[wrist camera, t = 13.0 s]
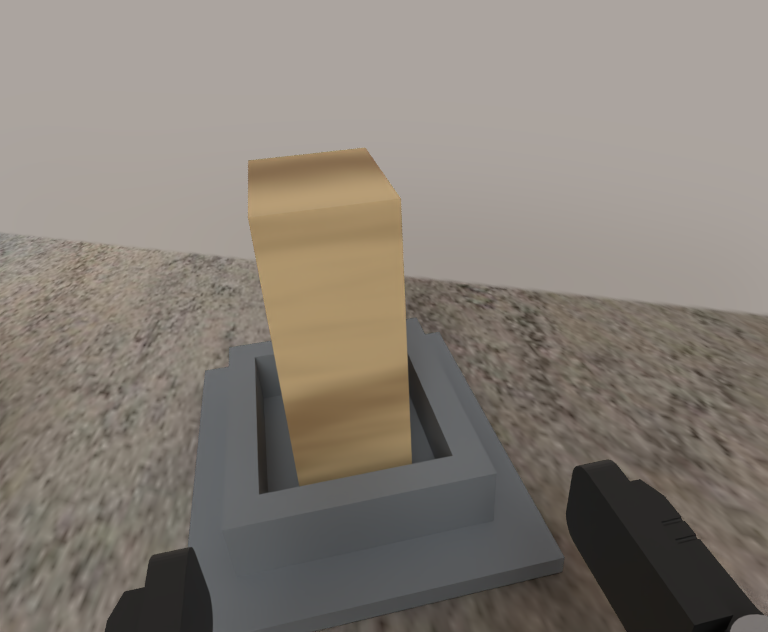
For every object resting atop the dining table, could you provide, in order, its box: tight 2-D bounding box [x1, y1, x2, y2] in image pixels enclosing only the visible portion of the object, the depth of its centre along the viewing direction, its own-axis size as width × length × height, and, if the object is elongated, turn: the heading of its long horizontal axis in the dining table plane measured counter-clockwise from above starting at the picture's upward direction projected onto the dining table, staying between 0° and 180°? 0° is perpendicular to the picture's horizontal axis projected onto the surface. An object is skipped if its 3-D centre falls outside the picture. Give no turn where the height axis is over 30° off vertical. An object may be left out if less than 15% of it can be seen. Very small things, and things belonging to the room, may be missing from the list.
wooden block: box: [248, 148, 412, 486], centre depth 22 cm, size 6×4×12 cm
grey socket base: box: [188, 318, 565, 632], centre depth 25 cm, size 15×13×3 cm
